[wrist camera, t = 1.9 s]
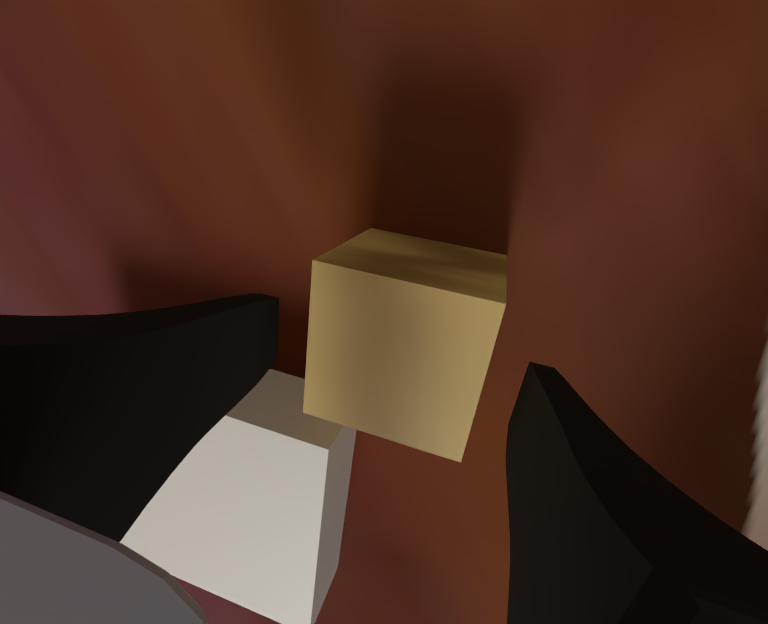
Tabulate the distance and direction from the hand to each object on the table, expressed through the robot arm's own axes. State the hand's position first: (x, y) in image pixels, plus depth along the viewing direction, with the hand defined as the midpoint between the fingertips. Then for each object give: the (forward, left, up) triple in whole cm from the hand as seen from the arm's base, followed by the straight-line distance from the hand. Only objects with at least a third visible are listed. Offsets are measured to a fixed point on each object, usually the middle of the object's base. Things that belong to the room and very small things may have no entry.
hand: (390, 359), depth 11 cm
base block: (+8, +11, -5) cm, 15 cm away
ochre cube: (0, 0, -5) cm, 5 cm away
